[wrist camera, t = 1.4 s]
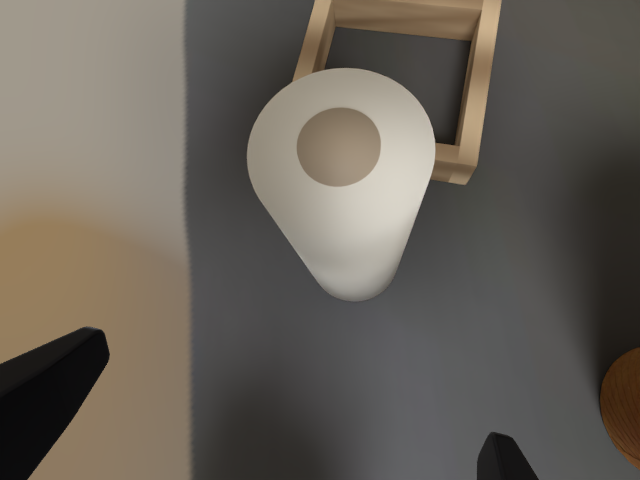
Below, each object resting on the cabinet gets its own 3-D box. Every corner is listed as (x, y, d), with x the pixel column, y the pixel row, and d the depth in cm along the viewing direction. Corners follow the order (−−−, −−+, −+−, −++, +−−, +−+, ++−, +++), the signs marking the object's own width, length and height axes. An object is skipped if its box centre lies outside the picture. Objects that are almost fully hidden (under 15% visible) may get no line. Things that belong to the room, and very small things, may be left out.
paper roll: (325, 313, 23) (271, 263, 10) (300, 231, 24) (226, 97, 11) (411, 285, 22) (468, 199, 10) (381, 205, 24) (396, 39, 11)
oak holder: (465, 185, 24) (476, 166, 21) (285, 155, 25) (277, 135, 23) (489, 29, 26) (501, -3, 24) (324, 13, 28) (320, -19, 26)
